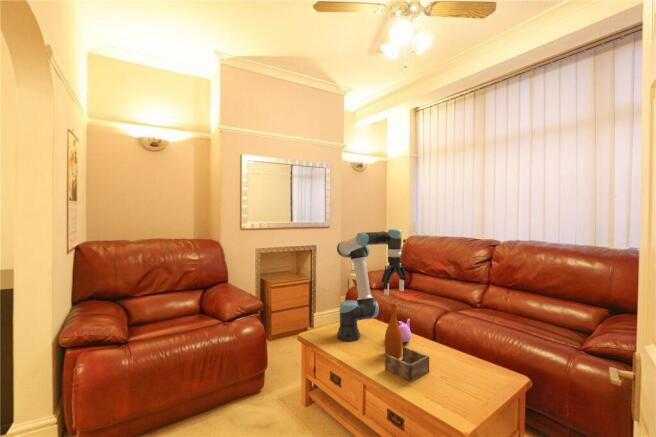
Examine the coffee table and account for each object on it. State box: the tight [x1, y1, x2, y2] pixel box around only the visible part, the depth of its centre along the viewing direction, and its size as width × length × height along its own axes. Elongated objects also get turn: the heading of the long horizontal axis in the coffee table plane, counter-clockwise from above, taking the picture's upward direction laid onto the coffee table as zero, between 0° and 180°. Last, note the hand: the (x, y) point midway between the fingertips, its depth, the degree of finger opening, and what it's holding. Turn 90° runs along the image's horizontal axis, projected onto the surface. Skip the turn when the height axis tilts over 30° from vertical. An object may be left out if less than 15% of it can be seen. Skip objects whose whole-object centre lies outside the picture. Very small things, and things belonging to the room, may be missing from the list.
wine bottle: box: [384, 303, 403, 359], centre depth 181 cm, size 10×10×30 cm
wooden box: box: [384, 345, 430, 383], centre depth 163 cm, size 16×16×8 cm
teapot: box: [398, 318, 412, 346], centre depth 202 cm, size 20×14×12 cm
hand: (394, 292), depth 181 cm, fingers open, 13 cm apart
